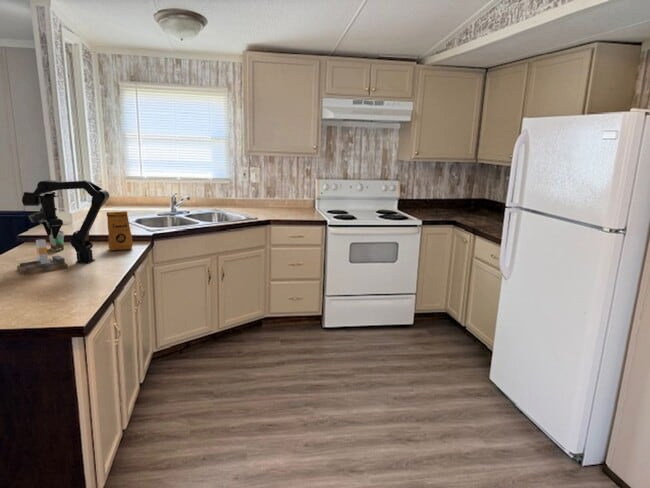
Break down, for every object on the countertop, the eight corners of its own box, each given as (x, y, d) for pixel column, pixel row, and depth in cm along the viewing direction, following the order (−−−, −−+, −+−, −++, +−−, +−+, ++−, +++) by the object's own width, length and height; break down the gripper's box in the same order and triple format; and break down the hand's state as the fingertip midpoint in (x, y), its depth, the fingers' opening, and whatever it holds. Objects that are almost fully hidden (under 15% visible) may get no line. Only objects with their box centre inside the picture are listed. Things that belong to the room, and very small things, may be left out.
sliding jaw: (45, 262, 214) (43, 238, 211) (50, 265, 209) (48, 240, 206) (36, 263, 211) (33, 239, 208) (41, 266, 206) (38, 242, 204)
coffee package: (133, 250, 249) (130, 212, 244) (109, 252, 244) (105, 213, 239) (132, 246, 258) (129, 209, 253) (108, 248, 252) (105, 210, 247)
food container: (69, 250, 245) (67, 233, 243) (57, 252, 241) (55, 234, 238) (62, 246, 253) (60, 229, 251) (50, 248, 249) (48, 230, 247)
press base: (59, 262, 221) (58, 254, 220) (68, 267, 213) (67, 259, 212) (17, 269, 208) (16, 260, 207) (24, 275, 200) (23, 265, 199)
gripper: (23, 205, 216) (27, 236, 219) (35, 209, 203) (39, 242, 207) (49, 203, 224) (52, 233, 227) (61, 207, 211) (65, 239, 215)
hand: (51, 237), depth 219 cm, fingers open, 9 cm apart
